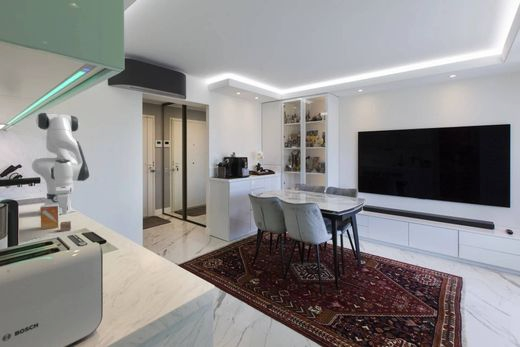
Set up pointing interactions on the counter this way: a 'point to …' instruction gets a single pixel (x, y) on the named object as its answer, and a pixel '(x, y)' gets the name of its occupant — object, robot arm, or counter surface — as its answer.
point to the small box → (49, 216)
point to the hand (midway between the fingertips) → (65, 212)
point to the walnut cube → (65, 226)
